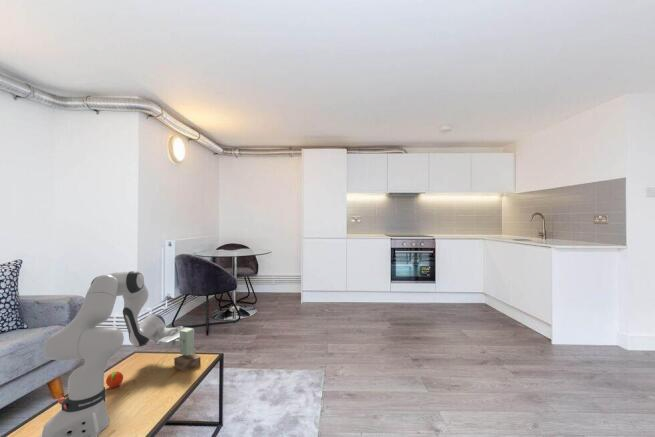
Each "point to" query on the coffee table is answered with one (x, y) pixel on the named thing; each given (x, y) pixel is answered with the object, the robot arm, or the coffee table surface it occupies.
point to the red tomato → (114, 379)
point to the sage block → (187, 341)
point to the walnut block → (187, 362)
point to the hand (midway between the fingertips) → (188, 339)
